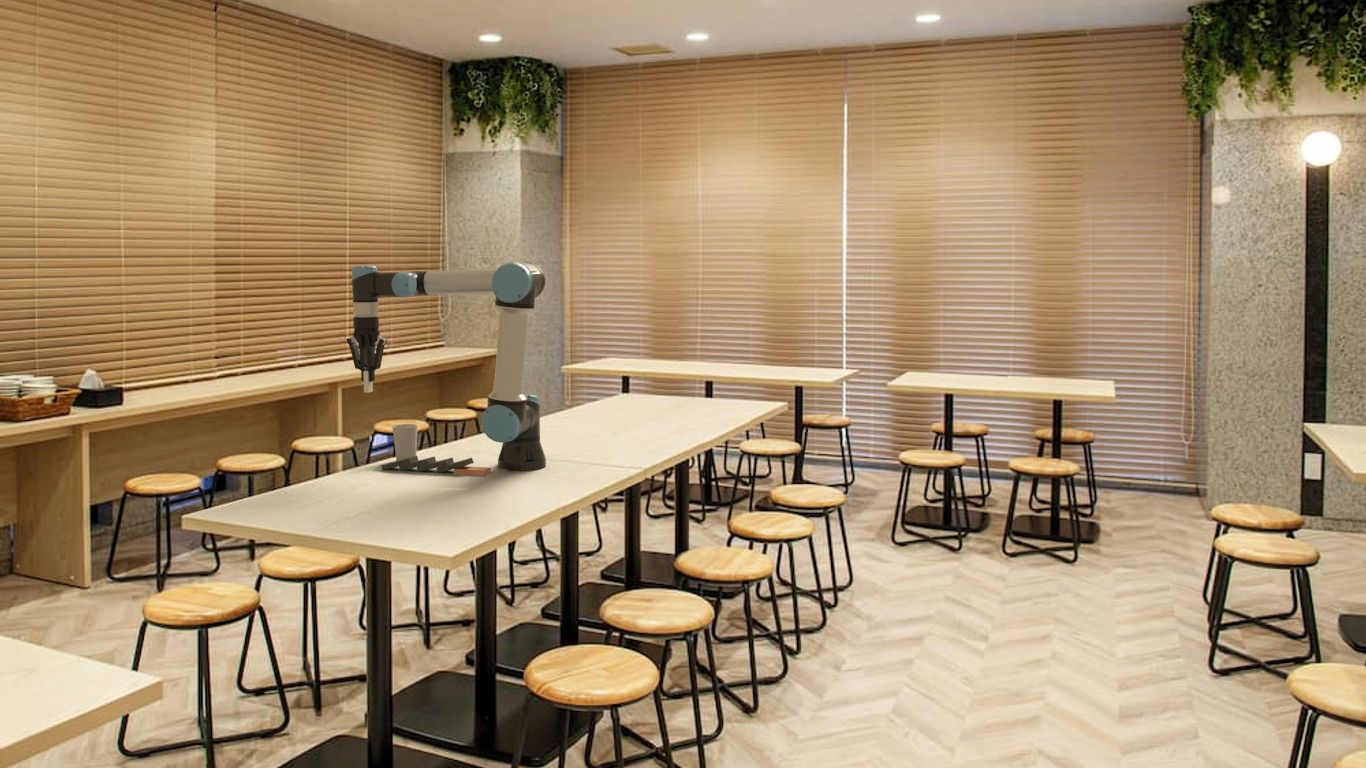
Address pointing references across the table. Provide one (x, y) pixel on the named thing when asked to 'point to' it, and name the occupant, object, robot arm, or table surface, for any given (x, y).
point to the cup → (405, 440)
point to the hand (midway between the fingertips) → (368, 391)
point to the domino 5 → (472, 470)
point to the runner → (414, 470)
